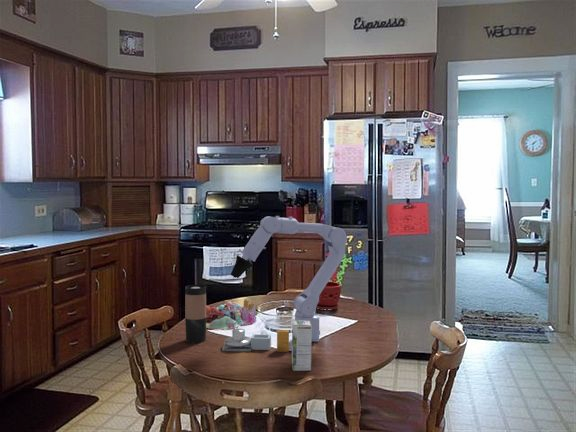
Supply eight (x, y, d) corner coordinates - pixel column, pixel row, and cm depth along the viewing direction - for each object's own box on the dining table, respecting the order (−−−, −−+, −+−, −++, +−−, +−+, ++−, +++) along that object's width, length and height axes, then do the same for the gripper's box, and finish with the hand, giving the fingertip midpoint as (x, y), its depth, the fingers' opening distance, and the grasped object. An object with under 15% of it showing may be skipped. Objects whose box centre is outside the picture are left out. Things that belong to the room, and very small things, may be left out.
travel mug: (210, 338, 196) (209, 285, 195) (200, 344, 189) (199, 289, 188) (191, 336, 199) (191, 284, 198) (181, 342, 192) (181, 287, 190)
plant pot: (311, 311, 239) (311, 285, 239) (314, 305, 252) (314, 280, 252) (340, 312, 237) (340, 286, 237) (341, 306, 250) (341, 281, 250)
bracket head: (273, 339, 196) (273, 328, 196) (269, 349, 183) (269, 338, 183) (255, 338, 196) (255, 328, 196) (250, 349, 183) (250, 338, 183)
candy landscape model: (209, 314, 235) (209, 293, 234) (260, 316, 231) (261, 295, 231) (190, 329, 210) (190, 306, 210) (247, 332, 206) (247, 308, 206)
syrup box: (291, 365, 167) (291, 320, 166) (309, 364, 168) (309, 319, 167) (292, 371, 162) (293, 325, 161) (311, 370, 162) (312, 324, 161)
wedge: (277, 349, 183) (277, 329, 183) (289, 349, 183) (289, 330, 183) (277, 351, 181) (277, 331, 181) (288, 351, 181) (288, 331, 180)
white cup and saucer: (254, 343, 191) (254, 326, 190) (250, 351, 181) (250, 334, 180) (227, 342, 191) (227, 326, 191) (222, 351, 181) (221, 333, 181)
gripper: (248, 240, 197) (227, 270, 196) (244, 237, 183) (222, 269, 182) (263, 251, 197) (243, 281, 195) (261, 248, 182) (239, 281, 181)
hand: (234, 276), depth 188 cm, fingers open, 7 cm apart
